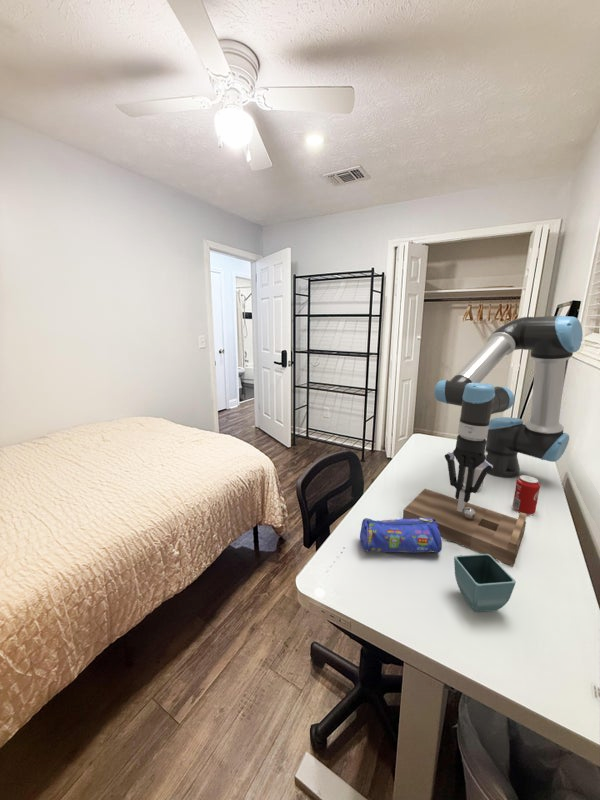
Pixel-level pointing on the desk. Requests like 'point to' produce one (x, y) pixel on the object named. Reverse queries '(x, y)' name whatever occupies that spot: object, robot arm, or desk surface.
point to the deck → (471, 525)
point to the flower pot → (483, 582)
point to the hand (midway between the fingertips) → (460, 509)
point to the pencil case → (401, 535)
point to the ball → (469, 512)
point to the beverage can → (526, 495)
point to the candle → (475, 474)
